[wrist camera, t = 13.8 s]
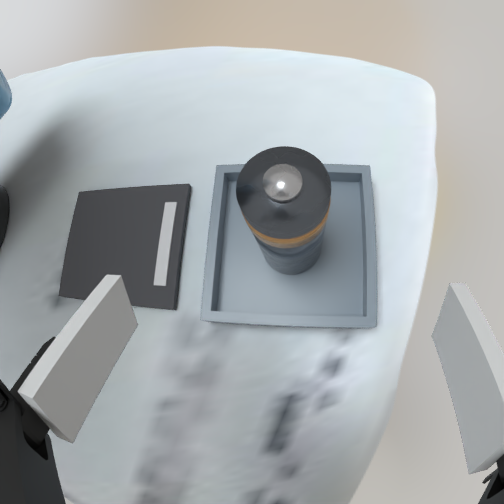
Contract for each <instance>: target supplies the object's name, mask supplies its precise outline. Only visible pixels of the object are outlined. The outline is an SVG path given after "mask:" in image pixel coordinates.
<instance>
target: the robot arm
mask: <svg viewBox="0 0 504 504" xmlns="http://www.w3.org/2000/svg"><path fill="white" fill-rule="evenodd" d="M11 103H12V93H11V89H10V87H9V85H8V82H7V80H6V78H5V77H4V75H3V73H2V71H1V69H0V119H1V118H2V117H3V116H4V114H5V113H6V112H7V111H8V109H9V108H10V106H11ZM8 215H9V199H8V195H7V192H6V190H5V189H4V188H3V187H2V186H0V247H1V244H2V241H3V238H4V235H5V231H6V227H7V222H8ZM137 326H138V323H137V320H136V317H135V315H134V312H133V309H132V306H131V303H130V301H129V298H128V295H127V292H126V289H125V286H124V283H123V280H122V277H121V275H106V276H105V277H104V278H103V279H102V281H101V282H100V283H99V284H98V285H97V287H96V288H95V289H94V290H93V291H92V293H91V294H90V295H89V296H88V297H87V299H86V300H85V301H84V302H83V304H82V305H81V306H80V307H79V309H78V310H77V311H76V312H75V314H74V315H73V316H72V317H71V319H70V320H69V321H68V322H67V324H66V325H65V326H64V328H63V329H62V330H61V332H60V333H59V334H58V335H57V337H53V338H51V339H50V340H49V341H47V342H46V343H45V344H44V345H43V346H42V347H41V349H40V350H39V351H38V353H37V356H35V357H34V358H33V359H32V361H31V364H29V365H28V366H27V368H26V369H25V371H24V372H23V373H22V375H21V376H20V378H19V379H18V380H17V382H16V383H15V385H14V386H13V388H12V389H11V390H10V391H9V390H8V389H7V387H6V386H5V385H4V384H3V382H2V381H1V380H0V504H66V503H65V499H64V496H63V492H62V489H61V485H60V481H59V477H58V473H57V468H56V464H55V459H54V455H53V450H52V444H51V439H50V437H49V435H48V434H47V433H48V431H49V429H51V430H52V432H53V433H54V434H55V435H56V436H57V437H59V438H61V439H64V440H66V441H68V442H71V443H73V442H74V440H75V438H76V436H77V434H78V432H79V430H80V428H81V427H82V425H83V423H84V421H85V419H86V417H87V415H88V413H89V411H90V409H91V408H92V406H93V404H94V402H95V400H96V398H97V396H98V394H99V393H100V391H101V389H102V387H103V385H104V384H105V382H106V380H107V378H108V376H109V375H110V373H111V371H112V369H113V367H114V366H115V364H116V362H117V360H118V359H119V357H120V355H121V353H122V352H123V350H124V348H125V346H126V345H127V343H128V341H129V340H130V338H131V336H132V334H133V333H134V331H135V329H136V328H137ZM432 338H433V341H434V343H435V346H436V349H437V352H438V355H439V358H440V361H441V364H442V368H443V371H444V374H445V377H446V381H447V384H448V387H449V391H450V394H451V398H452V402H453V405H454V409H455V413H456V417H457V421H458V425H459V429H460V433H461V438H462V442H463V447H464V451H465V457H466V462H467V468H468V473H469V474H472V473H476V472H480V471H483V470H487V469H488V468H489V467H491V466H492V465H493V464H494V463H495V462H497V466H498V468H497V469H496V470H495V471H494V472H492V473H491V474H490V475H489V476H487V477H486V478H485V479H484V481H483V483H484V484H485V483H486V482H487V481H489V480H490V479H491V480H490V482H489V484H488V486H487V488H486V490H485V492H484V494H483V495H482V497H481V499H480V501H479V503H478V504H504V354H503V351H502V349H501V347H500V345H499V343H498V341H497V339H496V337H495V335H494V333H493V331H492V329H491V327H490V325H489V324H488V322H487V320H486V318H485V316H484V314H483V312H482V311H481V309H480V307H479V305H478V303H477V302H476V300H475V298H474V296H473V295H472V293H471V291H470V290H469V288H468V286H467V285H466V283H449V287H448V290H447V293H446V296H445V299H444V303H443V306H442V309H441V311H440V314H439V317H438V320H437V323H436V325H435V328H434V331H433V334H432Z"/></svg>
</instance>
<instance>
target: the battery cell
mask: <svg viewBox="0 0 504 504" xmlns="http://www.w3.org/2000/svg"><path fill="white" fill-rule="evenodd" d="M236 198H237V201H238V204H239V206H240V209H241V212H242V215H243V217H244V219H245V221H246V223H247V225H248V227H249V228H250V230H251V232H252V233H253V235H254V237H255V239H256V241H257V243H258V245H259V247H260V250H261V252H262V254H263V256H264V258H265V260H266V261H267V263H268V264H269V265H270V266H271V267H272V268H273V269H274V270H276V271H278V272H280V273H282V274H286V275H297V274H301V273H304V272H306V271H307V270H309V269H310V268H312V267H313V266H314V265H315V263H316V262H317V261H318V259H319V256H320V254H321V249H322V243H323V238H324V232H325V227H326V222H327V219H328V214H329V208H330V202H331V180H330V177H329V174H328V172H327V170H326V168H325V166H324V165H323V164H322V163H321V161H320V160H319V159H317V158H316V157H315V156H314V155H312V154H311V153H309V152H307V151H305V150H302V149H299V148H295V147H285V146H284V147H275V148H270V149H267V150H265V151H262V152H260V153H258V154H257V155H255V156H254V157H252V158H251V159H250V160H249V161H248V162H247V163H246V164H245V165H244V167H243V168H242V170H241V172H240V174H239V176H238V179H237V183H236Z"/></svg>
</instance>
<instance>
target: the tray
mask: <svg viewBox="0 0 504 504" xmlns="http://www.w3.org/2000/svg"><path fill="white" fill-rule="evenodd" d="M244 165H245V164H237V165H217V166H216V174H215V182H214V190H213V198H212V206H211V215H210V224H209V233H208V242H207V252H206V262H205V272H204V282H203V293H202V305H201V317H200V320H203V321H208V322H218V323H232V324H247V325H264V326H285V327H315V328H374V327H376V325H377V261H376V235H375V218H374V204H373V192H372V181H371V171H370V166H366V165H342V164H323V165H324V166H325V168H326V170H327V172H328V174H329V177H330V180H331V202H330V208H329V214H328V219H327V222H326V227H325V232H324V238H323V243H322V249H321V254H320V256H319V259H318V261H317V262H316V263H315V265H314V266H313V267H312V268H310V269H309V270H307V271H306V272H304V273H301V274H297V275H286V274H282V273H280V272H278V271H276V270H274V269H273V268H272V267H271V266H270V265H269V264H268V263H267V261H266V260H265V258H264V256H263V254H262V252H261V250H260V247H259V245H258V243H257V241H256V239H255V237H254V235H253V233H252V232H251V230H250V228H249V227H248V225H247V223H246V221H245V219H244V217H243V215H242V212H241V209H240V206H239V204H238V201H237V198H236V183H237V179H238V176H239V174H240V172H241V170H242V168H243V167H244Z"/></svg>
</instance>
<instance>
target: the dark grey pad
mask: <svg viewBox="0 0 504 504" xmlns="http://www.w3.org/2000/svg"><path fill="white" fill-rule="evenodd" d="M190 190H191V186H190V184H174V185H157V186H142V187H128V188H116V189H105V190H94V191H84V192H79V195H78V199H77V203H76V207H75V211H74V215H73V219H72V224H71V228H70V233H69V238H68V243H67V248H66V253H65V259H64V265H63V271H62V277H61V284H60V291H59V296H62V297H69V298H76V299H83V300H86V299H87V297H88V296H89V295H90V294H91V293H92V291H93V290H94V289H95V288H96V287H97V285H98V284H99V283H100V282H101V281H102V279H103V278H104V277H105V276H106V275H121V277H122V280H123V283H124V286H125V289H126V292H127V295H128V298H129V301H130V303H131V305H132V306H141V307H151V308H161V309H172V310H176V303H177V292H178V283H179V273H180V264H181V256H182V248H183V240H184V232H185V224H186V217H187V210H188V203H189V196H190Z"/></svg>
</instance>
